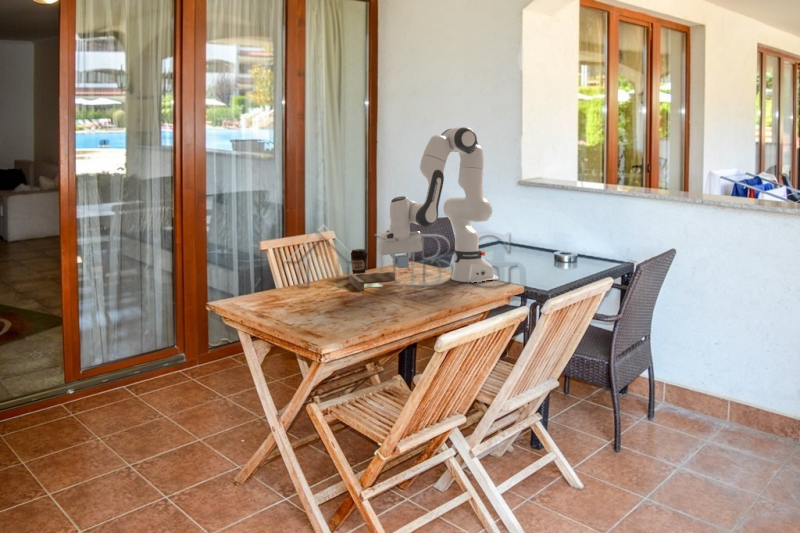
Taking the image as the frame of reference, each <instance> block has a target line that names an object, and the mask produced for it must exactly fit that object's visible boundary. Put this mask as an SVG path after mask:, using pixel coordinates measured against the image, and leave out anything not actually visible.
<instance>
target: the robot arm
mask: <svg viewBox="0 0 800 533" xmlns="http://www.w3.org/2000/svg"><path fill="white" fill-rule="evenodd" d="M477 139H478V137H477V134H476V132H475V131H474V130H473V129H472V128H469V127H467V126H466V127H465V126H461V127H460V126H457V127H453V128H447V129H446V130H444V131H443V132H442V133H441V134H440V135H439V134H437V135H436V134H435V135H432V136H431V137H430V139H429V141H428V142H427V145H426V147H425V148H424V151H423V154H422V157H421V159H420V164H419V169H420V172H421V174H422V175H423V176H424V177H425V178H426V180H427V182H428V187H427V192H426V197H425V200H424V202H423V203H420V202H416V201H414V200H411V199H409V198H408V197H407V196H402V195H401V196H397V197H396V196H395V197H393V199H391V201H390V205H389V220H390V225H389V229H386V230H385V231H382V232H380V233H379V234H380V235H379V236H380V239H379V241H378V254H380V255H381V256H388V255H389V257H390V258H391V259H392V264H393V265H394V264H396V263H397V259H395V258H394V257H393V256H395V254H402V253H403V254H407V256H408V257H409V259H410V258H411V256H412V253H416V252H417V253H419V252H421V251H422V250H423V242H422V239H423V237H422V232H420V231H411V227H410V226H411V224H415V225H419V226H420V227H422V228H423V227H424V228H431V227H432V226H434V225H435V224H436V223H437V221H438V218H439V205H440V200H441V196H442V193H443V192H442V190H443V186H444V180H445V176H444V172H445V168H446V167H445V166H446V164H447V160H448V157H449V155H450V153H451V152H452V153H453V152H454V153H458V154H459V158H460V159H459V160H460V162H459V172H458V178H457V180H458V181H457V182H458V185H459V187H460V188H461V189H463V190H464V195H465V196H464V197H463V196H453V197H449V198H447V199H446V200H445V201H444V204H443V214H444V215H445V216H446V217H447V218H448V219H449V221H450V223H451V226H452V229H453V231H454V232H453V233H454V246H455V247H454V250H453V260H454V262H453V270H452V274H451V277H450V279H451V280H452V281H456V282H462V283H470V282H471V284H472V283H473V284H475V283H474V282H477V283H483V282H482V281H485V282H487V281H486V280H493V281H498V280H499V276H498V275H497V274H494V273H495V272H494V268H493V265H492V264H490V263H489V262H488V261H487V260H485V259H484V258H483V257H485V256H486V251H484V250H482V251H481V250H479V242H480V239H479V238H480V235H479V233H478V231H477V230H476V229H474V228H473V225H472V222H473V223H482V222H483V223H484V222H487V221H489V220H490V219H491V217H492V214H493V206H492V204H491V202H489V200H488V199H487V196H486V195H485V193H484V189H483V174H484V163H485V162H484V150H483V148H482V146H480V145H479V143H478V140H477ZM482 256H483V257H482Z"/></svg>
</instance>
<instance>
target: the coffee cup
mask: <svg viewBox="0 0 800 533" xmlns="http://www.w3.org/2000/svg"><path fill="white" fill-rule="evenodd" d="M368 256H369V252H368V251H367V248H366V249H364V248H356V249H352V250H351V252H350V261H351V271H352V274H360V273H366V270H367V266H368V265H367V264H368Z"/></svg>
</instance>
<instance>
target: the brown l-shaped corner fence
mask: <svg viewBox="0 0 800 533" xmlns="http://www.w3.org/2000/svg"><path fill="white" fill-rule="evenodd" d="M395 275H396V272H395V271H394V270H393V271H389V270H388V271H377V272H375V271H374V272H365V273H360V274H353V273H352V274H349V276H348V277H349V282H348V283H349V284H350V285H351V284H352V285H351V286H352V287H354V288H355V289H357V290H359V291H360V292H361V291H365V289H368V288H369V289H370V288H383V287H384V285H382V284H381V283H379V282H387V281H388V282H391V281H395V280H396V276H395ZM374 282H375V283H374Z"/></svg>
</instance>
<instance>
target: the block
mask: <svg viewBox="0 0 800 533" xmlns="http://www.w3.org/2000/svg"><path fill="white" fill-rule="evenodd" d="M393 257H394V258H395V259H397V263H396V264H394V263H393V266H394V267H396V268H398V269H409V267H410V266H409V265H410V258H409V257H408V255H406V253H400V254H395V256H393Z"/></svg>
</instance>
